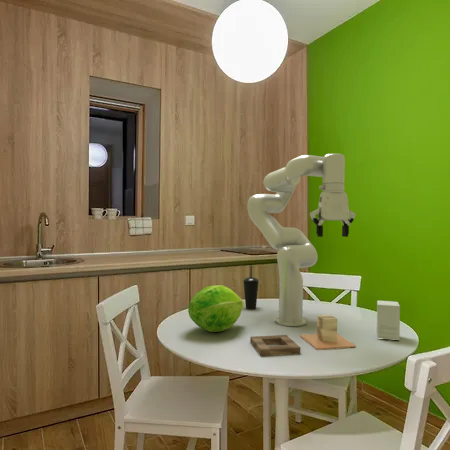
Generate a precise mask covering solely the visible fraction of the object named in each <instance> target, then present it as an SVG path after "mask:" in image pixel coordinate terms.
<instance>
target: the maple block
mask: <svg viewBox="0 0 450 450" xmlns="http://www.w3.org/2000/svg"><path fill="white" fill-rule="evenodd" d="M316 317H317V318H316V319H317V321H316V323H317V324H316V334H317V339H319V340H320V341H322V342H323V343H329V342H337V334H338V318H337V317H335V316H333V315H332V314H326V315H325V314H324V315H317V316H316Z"/></svg>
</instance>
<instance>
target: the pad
mask: <svg viewBox="0 0 450 450" xmlns="http://www.w3.org/2000/svg"><path fill="white" fill-rule="evenodd" d="M299 337H300V338H301V339H303V340H304V341H305V342H306V343H308V344H309V345H310V347H312V348H313V349H315V350H316V351H318V350H321V349H322V350H335V348H339V349H350V347H356V348H357V345H355V344H354V343H353V342H351V341H349V340H347V339H346V338H345V337H343V336H342V335H340V334H338V333H337V342H329V343H323V342H322V341H320V340H319V339H317V333H314V334H313V333H312V334H300V335H299Z"/></svg>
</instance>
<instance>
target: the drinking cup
mask: <svg viewBox="0 0 450 450" xmlns="http://www.w3.org/2000/svg"><path fill="white" fill-rule="evenodd" d="M249 273H250V274H249V275H250V276H247V277H243V279H242V281H243V288H244V289H243V290H244V303H245V309H247V310H255V309H257V303H258V293H259V292H258V291H259V281H260V279H259V278H257V277H255V276H253V266H252V265H250V272H249Z"/></svg>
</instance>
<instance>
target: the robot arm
mask: <svg viewBox="0 0 450 450" xmlns="http://www.w3.org/2000/svg"><path fill="white" fill-rule="evenodd" d="M345 165H346V157H345V156H344V154H341V153H327V154H325V155H324V156H318V155H311V154H304V155H300V156H297V157H295V158H293V159H291V160H289V161H288V162H287V163H286V166H284V167H282V168H280V169H276V170H274V171H272V172H270V173H268V174H267V175H266V176H265V177H264V178H263V186H264V188H265V189H266V190H267V191H269V192H271V194H270V193H257V194H253V195H251V196H250V197H249V198H248V200H247V205H246V208H247V213H248V216H249V218H250V221H252V223H253V224H254V225H255V226H256V228H258V229H259V231H260V232H261V234H262V235H263V237H264V239H265V240H266V241H267V243H268V244H269V245H270V246H271V248H273V249H274V250H277V254H276V260H277V266H278V273H279V274H278V280H279V281H278V285H279V286H278V287H279V288H278V296H279V297H278V316H276V317H274V322H275V323H276V324H278V325H281V326H285V327H301V326H302V327H303V326H305V325H306V324H307V320H306V318H304V317H303V312H304V311H303V305H304V304H303V303H304V302H303V301H304V300H303V299H304V298H303V297H304V281H303V280H304V277H303V275H302V273H301V271H300V269H301V268H310V267H313V266H314V265H316V263H317V262H318V259H319V257H318V256H319V255H318V252H317V250H316V248H315V246H314V245H313V244H312V243H311V241H310V240H309V239H308V238H307V236H306V235H305V234H304V232H303V231H302V230H300V229H299V228H297V227H286V226H282V225H281V224H280V223H279V221H278V220H277V219H276V218H275V217H274V216H272V215H271V214H279V213H281V212H283V211H284V209H285V208H286V207H287V205H288V204H289V201H290V200H291V198H292V196H293V193H294V191H295V189H296V186H297V185H298V184H299V183H300V182H301V177H306V176H308V177H316V178H317V177H318V178H322V185H319V186H318V189H319V190H321V191H322V192H321V193H320V195H319V201H318V208H317V209H315V210H313V211H311V212H309V216H310V219H311V220H312V222H313V223H314V225H315V226H316V236H317V237H318V238H319V237H320V238H322V237H323V236H324V226H323V224H324V222H325V221H340V222H341V223H342V224H343V225H342V226H341V236H342V237H345V238H347V237H349V234H350V233H349V232H350V226H351V224H352V223H353V222H354V220H355V217H356V212H353V210H350V208H349V207H350V206H349V199H348V193H347V192H345V178H346V177H345V171H346V170H345V169H346V168H345ZM272 192H273V193H274V194H272ZM316 215H317V217H318V218H317V217H316Z"/></svg>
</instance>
